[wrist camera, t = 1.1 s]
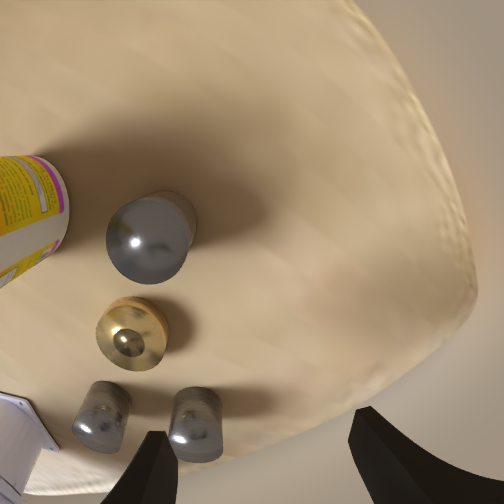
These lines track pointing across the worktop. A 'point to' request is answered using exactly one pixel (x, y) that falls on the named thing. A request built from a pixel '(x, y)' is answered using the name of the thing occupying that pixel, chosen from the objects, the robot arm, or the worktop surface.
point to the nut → (133, 334)
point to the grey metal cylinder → (151, 237)
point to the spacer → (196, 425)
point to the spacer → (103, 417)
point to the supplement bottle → (29, 213)
